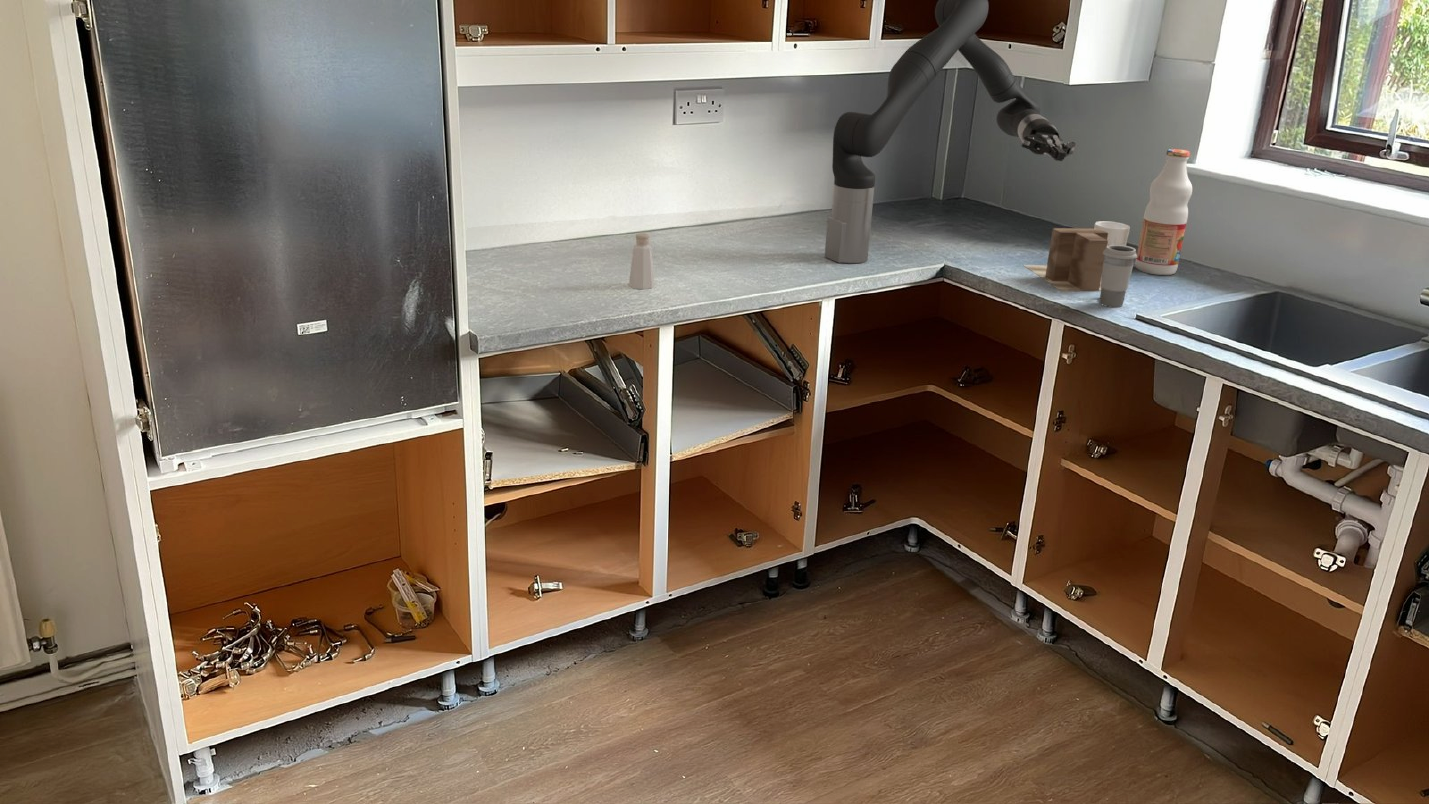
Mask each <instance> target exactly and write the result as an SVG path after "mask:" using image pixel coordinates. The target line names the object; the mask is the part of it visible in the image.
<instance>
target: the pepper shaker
mask: <svg viewBox="0 0 1429 804" xmlns="http://www.w3.org/2000/svg"><path fill="white" fill-rule="evenodd" d="M635 238H636V239H635V243H636V244H635V245H634V246H633V248H632V256H631V263H630V270H629V271H630V273H629V279H628V280H629V281H628V282H629V283H628V286H629V287H630V288H632V289H634V290H635V289H636V290H649V289H652V288H653V287H655V286H656V285H655V283H656V282H655V274H654V272H655V271H654V263H653V261H654V260H653V249H652V246H651V245H650V244H649V243H650V234H648V233H647V232H638V233H636V234H635Z"/></svg>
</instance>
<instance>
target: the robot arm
mask: <svg viewBox="0 0 1429 804" xmlns="http://www.w3.org/2000/svg"><path fill="white" fill-rule="evenodd" d="M989 7H990V6H989V0H937V2H936V5H935V10H934V16H935V21H936V23H937V26H938V27H937V28H935V29H934V30H932V32H929V33H928V34H927V35H925V36H924V37H922V38H921V39H919V40H918V41H916V42H915V43H914V44H912V45H911V46H910V47H909V48H907V49H906V50H905V52H903V53H902V55H901V56H900V58H899V59H898V60H897V61H896V62H895V63H894V65H893V66H892V67H891V69H890V72H889V73H888V79H887V92H886V93H887V94H886V97H885V99H884V101H883V103H882V104H881V105H880V106H879V107H878V109H877V110H876V111H875V112H874V113H872V114H867V113H862V112H856V111H854V112H853V111H847V112H846V111H845V112H844V113H842V114H841V115H840V116H839V118H837V121H836V123H835V126H834V131H833V137H832V173H833V177H834V178H833V180H834V183H833V193H832V195H833V196H832V207H831V216H827V223H826V234H825V235H826V236H825V248H824V249H825V250H824V258H825V257H826V258H827V259H828V260H831V261H834V262H836V263H839V264H840V263H845V264H846V263H848V264H859V263H865V262H867V261H868V257H869V249H870V248H869V247H870V237H871V225H872V216H873V215H872V214H873V205H874V197H875V195H874V194H875V185H876V174H875V173H874V172H873V171H872V170H871V169H869V168H868V167H867V166H866V165H865V163H864V162H863V160H862V158H863V157H864V158H873V157H876V156H877V155H878V154H880V153H881V151H883V149H884V148H886V145H888V142H889V141H890V140H891V138H892V136H893V135H894V133H895V132H896V131H897V129H898V127H899V126H900V124H901V122H902V121H903V120H904V118H905V117H906V115H907V114H908V113H909V112H910V110H911V109H912V107H914V105H915V104H916V102H917V101H918V100H919V98H920V97H922V95H923V94H924V92H925V91H926V90H927V89H928V87H930V85H932V83H933V82H934V80H936V78H937V76H938V75H939V74H940V72H941V71H942V70H943V69H944V68H945V66H946V65H947V64H948V63H949V62H950V61H951V59H952V58H953V56H954V55H955V54H956V53H957V52H959V53H960V54H961V55H962V56H963V58H964V59H965V60H966V61H967V62H968V63H969V65H970V66H971V68H972V69H973V70H974V71H975V73H976V74H977V76H978V77H979V79H980V81H981V83H982V84H983V86H984V87H985V89H986V91H987V93H988V95H989V96H990V98H991V100H992V101H993V102H995V103H997V104H1001V103H1004V102H1008V101H1010V100H1012V101H1011V102H1009V103H1008V104H1006V105H1005V106H1003V107H1002V108H1001V109H999V111H998V112H997V114H996V124H997V125H998V126H997V127H998V128H999V129H1000V130H1001V131H1002V132H1003V133H1005V134H1006V135H1008V136H1010V137H1017V138H1019V139H1020V141H1021V142H1022V143H1021V147H1022V148H1024V149H1027V150H1029V152H1031V153H1032V154H1035V155H1039V156H1041V155H1042V156H1043V155H1046V156H1047V157H1051V158H1053V159H1054V160H1055V161H1056V162H1057V161H1058V162H1063V160H1065V158H1066V157H1069V156H1071V155H1073V154H1074V151H1075V147H1076V142H1074V141H1070V142H1069V141H1068V142H1065V140H1064V139H1062V138H1061V137H1060V134H1059V131H1058V129H1057V127H1056V126H1055V125H1053V123H1051V122H1050V121H1049V120H1048V119H1047V118H1046V117H1044V116H1042V115H1041V108H1040V107H1041V106H1040V104H1039V103H1038V101H1037V100H1036V99H1035V98H1034V97H1033V96H1032V95H1030V94H1029V93H1028V92H1027V91H1026V90H1024V88H1023V87H1022V86H1021V85H1020V84H1019V82H1018V80H1017V79H1016V78H1015V75H1014V74H1013V72H1012V71H1011V69H1010V67H1009V65H1008V64H1007V62H1006V61H1005V60H1004V59H1003V57H1001V56H1000V55H999V54H998V53H997V52H996V51H994V50H993V49H992V48H991V47H989V45H987V44H986V43H984V41H982V40H981V39H980V37H978V36H977V34H976V33H977V32H978V31H979V30H980V28H982V27H983V25H984V23H985V21H986V19H987V17H988V14H989Z"/></svg>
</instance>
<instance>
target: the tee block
mask: <svg viewBox="0 0 1429 804" xmlns="http://www.w3.org/2000/svg"><path fill="white" fill-rule="evenodd" d="M1107 237H1108V233H1107V232H1105V231H1103V230H1101V229H1094V228H1070V227H1069V228H1066V227H1065V228H1062V227H1061V228H1059V227H1054V228H1052V232H1051V239H1050V243H1049V251H1048V256H1047V263H1046V265H1047V269H1046V276H1045V277H1047V278H1048V279H1050V280H1051V281H1068V282H1069V283H1071V284H1073V285H1074V286H1076V287H1077V288H1079V289H1080V290H1099V288H1100V282H1101V279H1102V271H1103V262H1104V260H1105V255H1104V254H1103V252H1104V250H1105V249H1106V247H1107V243H1108V240H1107Z"/></svg>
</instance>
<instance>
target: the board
mask: <svg viewBox="0 0 1429 804" xmlns="http://www.w3.org/2000/svg"><path fill="white" fill-rule="evenodd" d="M1023 266H1024V267H1025V268H1026V269H1028V270H1030V271H1031V272H1033V273H1034V274H1035V275H1036V276H1038V277H1040V278H1041V279H1043V280H1044V281H1046V282H1047V283H1049V284H1051V285H1052V286H1053V287H1055V288H1056V289H1058V290H1059V291H1061V292H1101V282H1100V288H1099V290H1080V289H1079V288H1077V287H1076V286H1074V285H1073V284H1071V283H1069V282H1068V281H1051V280H1050V279H1048V278H1047V277H1045V276H1046V269H1047V264H1034V265H1033V264H1027V265H1026V264H1023Z"/></svg>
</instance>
